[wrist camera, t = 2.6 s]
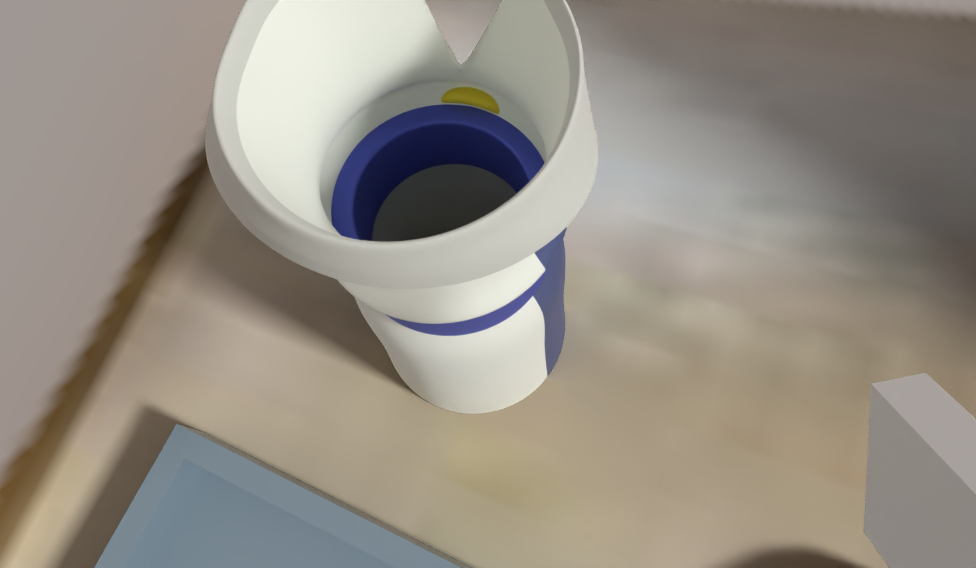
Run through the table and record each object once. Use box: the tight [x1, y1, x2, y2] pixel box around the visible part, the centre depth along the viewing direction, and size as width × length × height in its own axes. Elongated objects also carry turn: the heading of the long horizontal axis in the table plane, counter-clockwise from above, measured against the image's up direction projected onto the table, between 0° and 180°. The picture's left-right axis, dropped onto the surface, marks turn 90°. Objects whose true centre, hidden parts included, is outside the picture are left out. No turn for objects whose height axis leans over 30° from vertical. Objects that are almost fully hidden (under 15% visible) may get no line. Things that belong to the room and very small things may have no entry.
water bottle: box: [205, 0, 598, 414], centre depth 22 cm, size 8×9×25 cm
